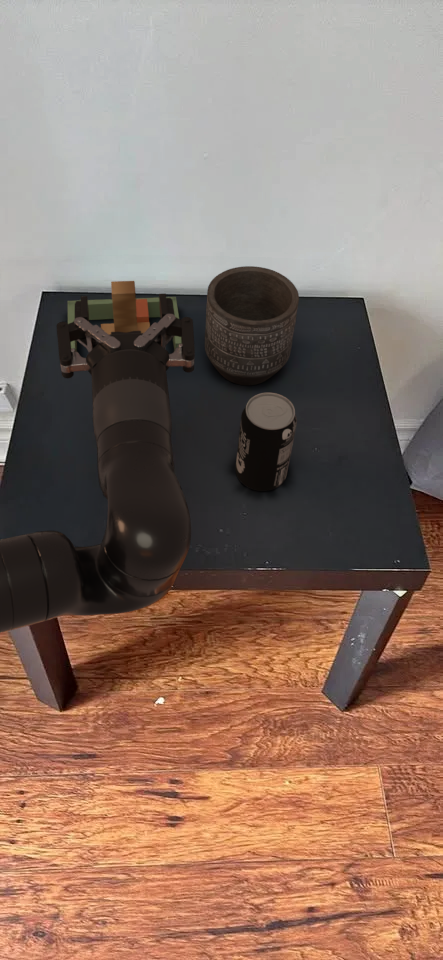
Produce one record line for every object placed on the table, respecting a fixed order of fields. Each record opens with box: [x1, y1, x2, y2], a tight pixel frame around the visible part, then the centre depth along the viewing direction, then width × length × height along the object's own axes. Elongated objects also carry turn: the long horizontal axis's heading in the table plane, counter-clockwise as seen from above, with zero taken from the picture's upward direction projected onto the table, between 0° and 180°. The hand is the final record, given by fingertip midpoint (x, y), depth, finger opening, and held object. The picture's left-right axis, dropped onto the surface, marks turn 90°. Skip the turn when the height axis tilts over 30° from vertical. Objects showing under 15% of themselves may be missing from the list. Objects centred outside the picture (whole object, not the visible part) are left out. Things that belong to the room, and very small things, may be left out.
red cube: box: [136, 299, 150, 322], centre depth 110 cm, size 4×4×4 cm
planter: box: [204, 265, 300, 386], centre depth 103 cm, size 12×12×13 cm
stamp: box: [100, 280, 151, 334], centre depth 102 cm, size 7×8×14 cm
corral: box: [67, 296, 181, 352], centre depth 109 cm, size 16×10×3 cm, turn 97°
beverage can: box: [235, 392, 298, 492], centre depth 91 cm, size 7×7×12 cm
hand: (123, 300), depth 83 cm, fingers open, 8 cm apart
